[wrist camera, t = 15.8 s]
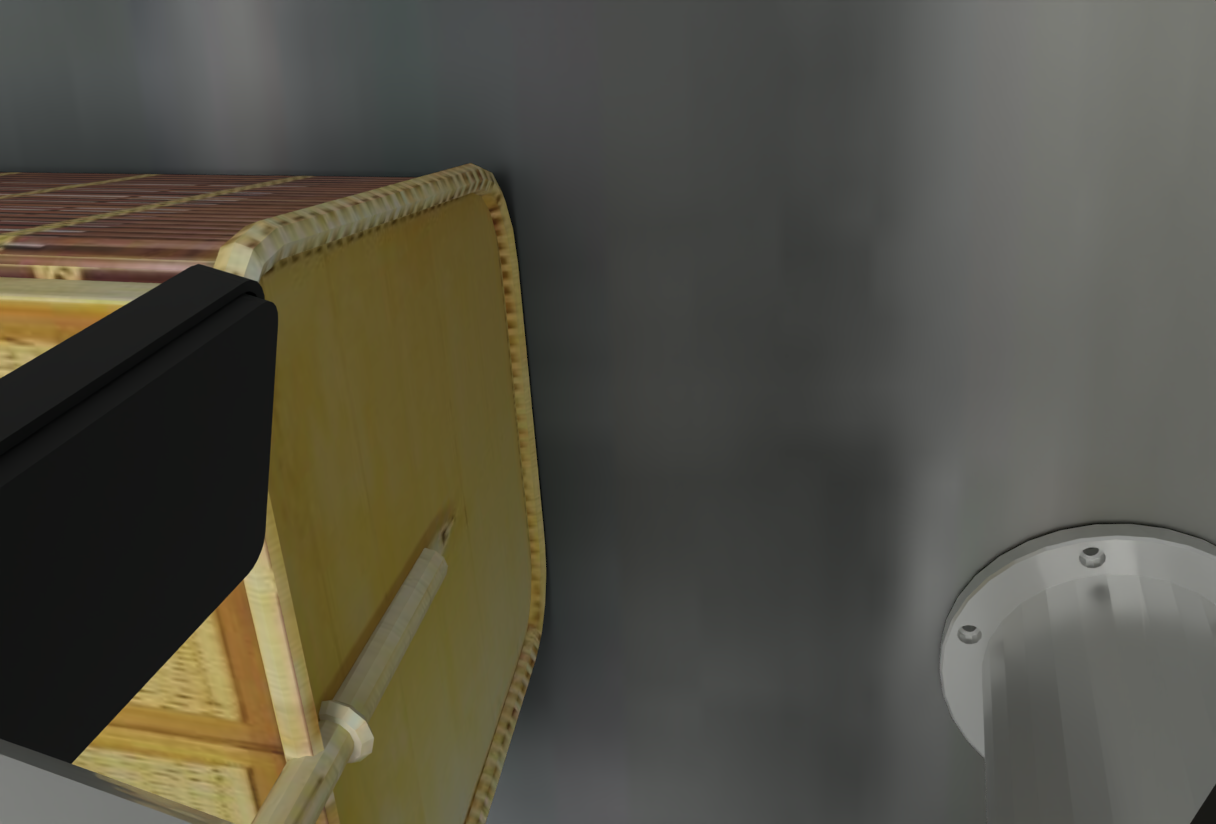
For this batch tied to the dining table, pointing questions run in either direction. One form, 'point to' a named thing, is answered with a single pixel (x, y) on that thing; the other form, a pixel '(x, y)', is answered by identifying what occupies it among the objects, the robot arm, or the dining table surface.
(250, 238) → the picnic basket
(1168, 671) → the robot arm
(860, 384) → the dining table surface
